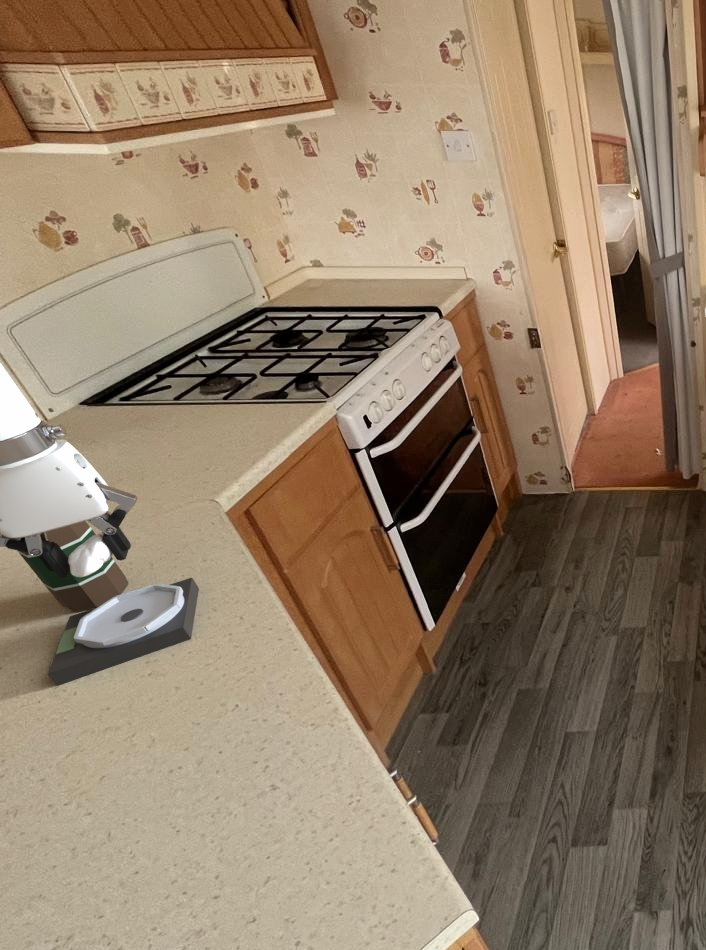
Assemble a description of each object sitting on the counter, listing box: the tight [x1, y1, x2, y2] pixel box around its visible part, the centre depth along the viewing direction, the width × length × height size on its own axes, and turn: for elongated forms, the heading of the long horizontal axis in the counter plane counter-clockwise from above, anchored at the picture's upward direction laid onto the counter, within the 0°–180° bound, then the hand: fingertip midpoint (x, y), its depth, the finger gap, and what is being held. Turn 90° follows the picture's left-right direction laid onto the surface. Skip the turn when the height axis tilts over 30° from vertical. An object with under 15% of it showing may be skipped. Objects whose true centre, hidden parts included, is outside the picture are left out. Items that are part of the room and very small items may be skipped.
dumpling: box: [68, 531, 113, 577], centre depth 89 cm, size 7×5×4 cm
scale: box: [46, 577, 200, 686], centre depth 95 cm, size 14×13×4 cm
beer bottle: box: [16, 521, 129, 613], centre depth 97 cm, size 8×8×24 cm
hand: (95, 562), depth 90 cm, fingers closed on dumpling, 5 cm apart
